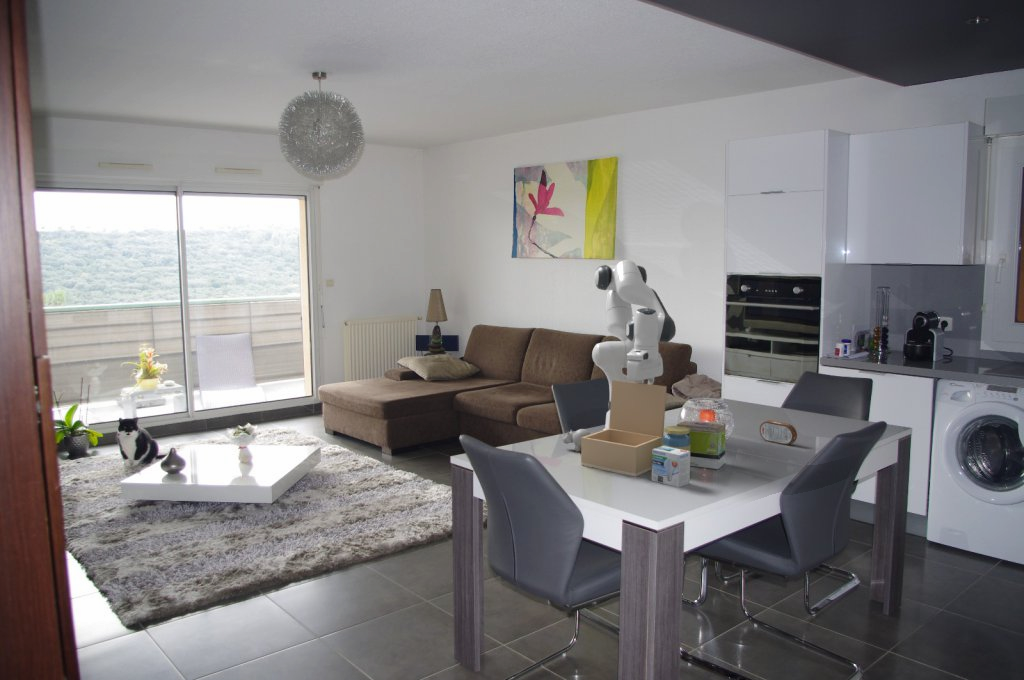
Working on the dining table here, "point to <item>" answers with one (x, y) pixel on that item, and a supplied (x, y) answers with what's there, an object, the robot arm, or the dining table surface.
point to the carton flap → (638, 408)
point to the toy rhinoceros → (575, 438)
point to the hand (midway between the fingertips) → (645, 390)
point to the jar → (677, 437)
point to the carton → (619, 451)
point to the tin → (778, 432)
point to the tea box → (706, 443)
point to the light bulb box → (671, 466)
